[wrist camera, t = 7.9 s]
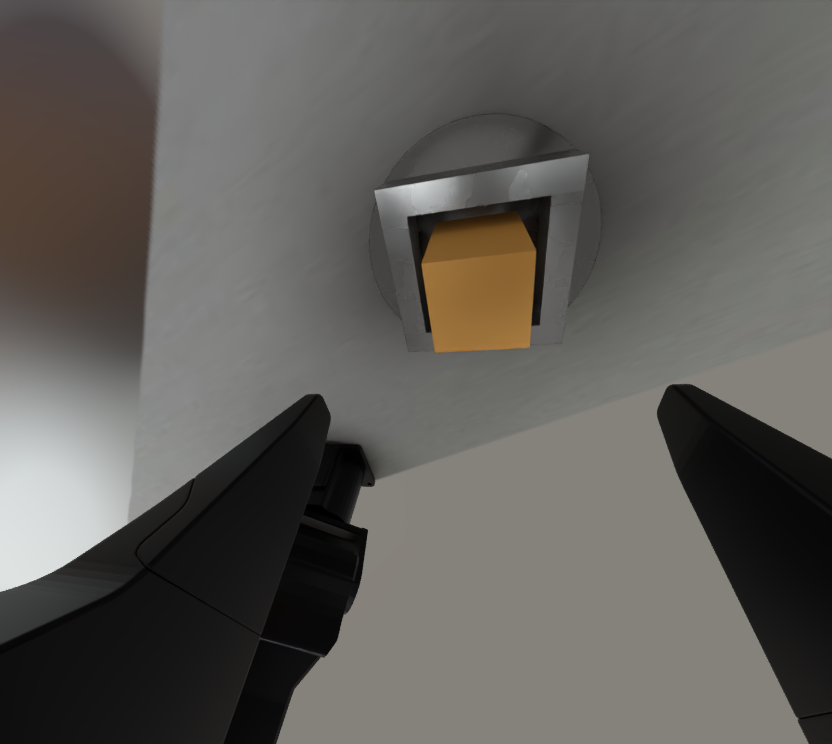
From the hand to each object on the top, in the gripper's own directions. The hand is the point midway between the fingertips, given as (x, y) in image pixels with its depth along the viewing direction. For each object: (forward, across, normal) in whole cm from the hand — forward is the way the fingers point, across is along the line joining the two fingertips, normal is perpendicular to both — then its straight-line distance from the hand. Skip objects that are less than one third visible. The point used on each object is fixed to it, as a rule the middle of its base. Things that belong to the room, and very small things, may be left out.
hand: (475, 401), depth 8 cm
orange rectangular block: (+11, 0, 0) cm, 11 cm away
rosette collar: (+12, 0, 0) cm, 12 cm away
